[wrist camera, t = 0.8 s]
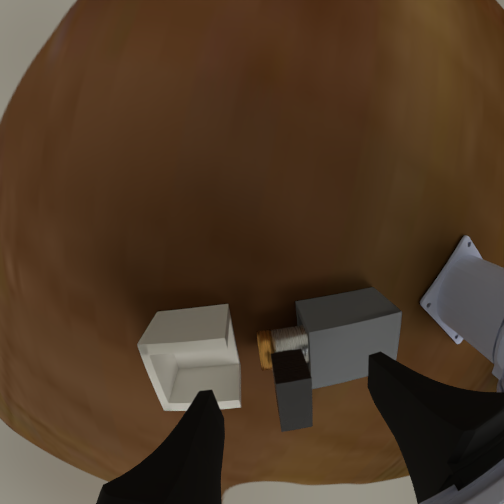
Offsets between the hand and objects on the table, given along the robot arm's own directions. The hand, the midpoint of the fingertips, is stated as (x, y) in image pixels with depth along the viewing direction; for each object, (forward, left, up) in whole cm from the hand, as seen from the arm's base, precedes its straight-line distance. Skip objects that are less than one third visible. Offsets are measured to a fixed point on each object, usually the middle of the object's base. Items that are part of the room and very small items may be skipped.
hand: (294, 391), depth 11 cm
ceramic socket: (+3, +6, -10) cm, 12 cm away
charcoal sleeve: (-5, -2, -10) cm, 11 cm away
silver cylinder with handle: (-4, 0, -9) cm, 10 cm away
